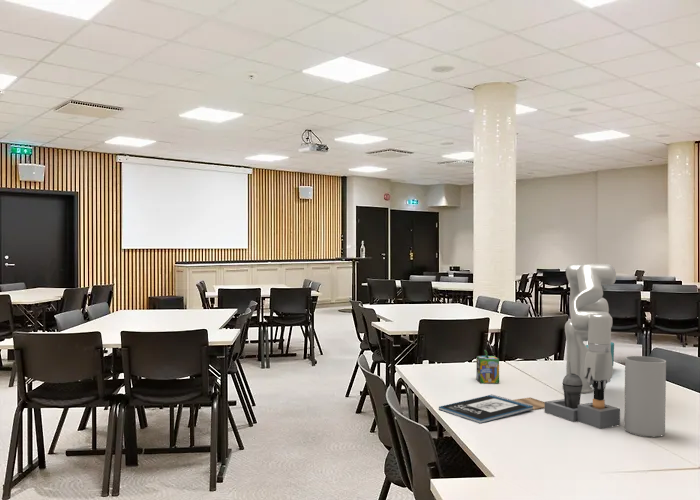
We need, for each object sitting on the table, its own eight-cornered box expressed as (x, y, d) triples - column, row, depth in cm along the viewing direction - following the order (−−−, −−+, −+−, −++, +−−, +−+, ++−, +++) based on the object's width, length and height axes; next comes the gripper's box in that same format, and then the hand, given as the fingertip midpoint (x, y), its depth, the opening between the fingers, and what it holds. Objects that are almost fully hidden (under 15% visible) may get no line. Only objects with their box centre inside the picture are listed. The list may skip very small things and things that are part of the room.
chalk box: (499, 383, 272) (499, 352, 272) (479, 383, 272) (480, 351, 272) (495, 379, 281) (495, 348, 281) (475, 379, 282) (476, 348, 282)
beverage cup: (584, 418, 217) (584, 364, 217) (563, 416, 219) (564, 363, 219) (580, 412, 224) (581, 360, 224) (560, 411, 226) (561, 359, 226)
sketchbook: (438, 410, 226) (438, 404, 226) (491, 398, 243) (491, 393, 243) (480, 423, 209) (480, 417, 209) (534, 409, 226) (534, 404, 226)
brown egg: (597, 408, 214) (597, 397, 214) (607, 411, 210) (607, 400, 210) (590, 410, 212) (590, 398, 212) (599, 412, 208) (599, 401, 208)
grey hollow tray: (569, 408, 231) (569, 393, 231) (621, 425, 209) (621, 408, 209) (544, 412, 225) (544, 396, 225) (596, 429, 203) (596, 412, 203)
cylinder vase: (663, 440, 192) (664, 364, 192) (622, 433, 199) (622, 360, 199) (666, 430, 203) (667, 358, 203) (626, 424, 210) (627, 354, 210)
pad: (530, 398, 245) (530, 397, 245) (555, 406, 233) (555, 405, 233) (504, 402, 239) (504, 400, 239) (529, 410, 226) (529, 409, 226)
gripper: (605, 345, 218) (604, 394, 217) (576, 347, 211) (575, 398, 211) (622, 348, 211) (621, 399, 211) (593, 351, 204) (592, 403, 204)
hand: (598, 399), depth 211 cm, fingers closed
